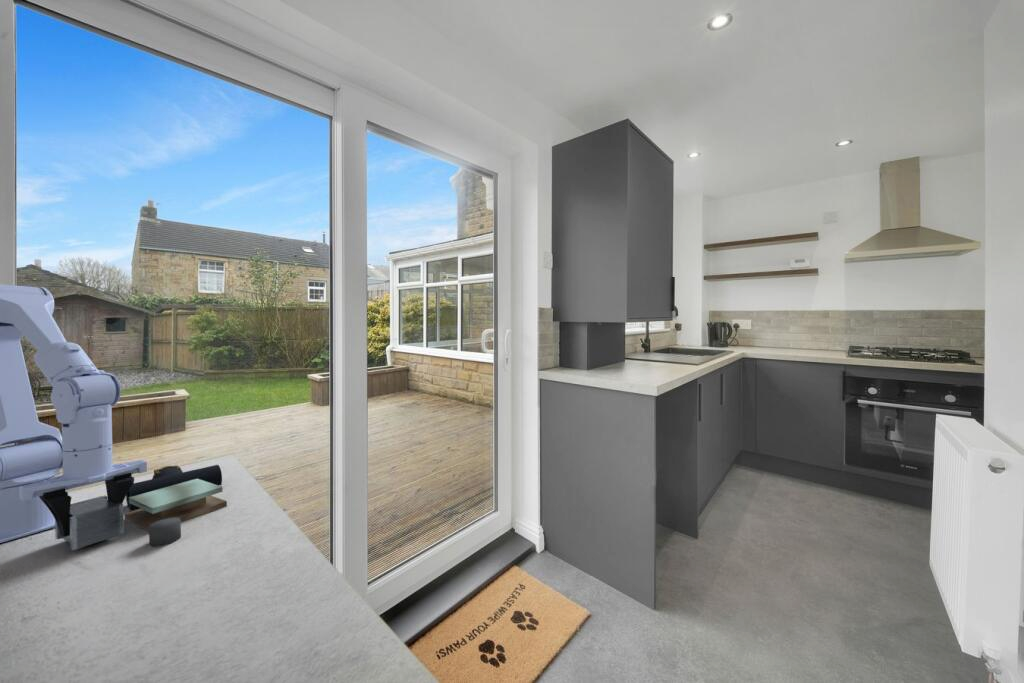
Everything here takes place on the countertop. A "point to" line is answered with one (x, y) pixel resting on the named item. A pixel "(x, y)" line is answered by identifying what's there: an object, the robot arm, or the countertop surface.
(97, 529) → the housing
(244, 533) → the countertop surface
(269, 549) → the countertop surface
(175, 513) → the stand
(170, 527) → the knob
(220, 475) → the pipe connector
